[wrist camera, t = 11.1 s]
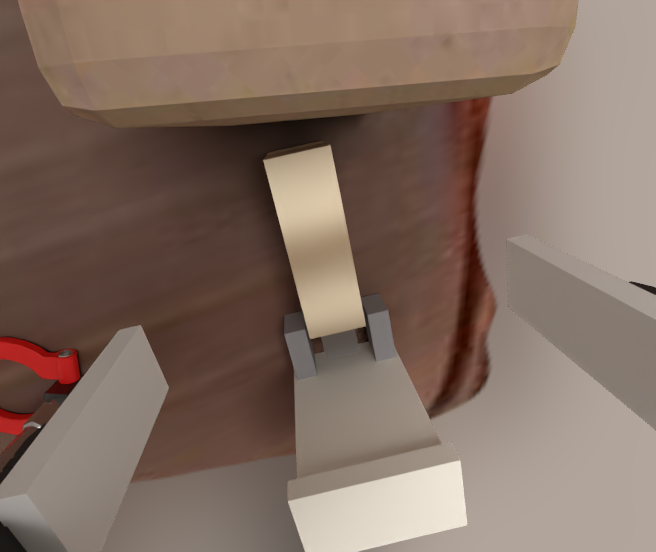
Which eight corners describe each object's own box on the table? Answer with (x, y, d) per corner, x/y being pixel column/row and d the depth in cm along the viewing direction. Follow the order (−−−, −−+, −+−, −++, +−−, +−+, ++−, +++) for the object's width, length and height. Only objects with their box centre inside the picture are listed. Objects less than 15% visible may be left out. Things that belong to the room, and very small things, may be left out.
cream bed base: (276, 316, 30) (268, 446, 18) (387, 291, 31) (454, 402, 18) (301, 402, 34) (309, 563, 21) (401, 378, 34) (467, 525, 21)
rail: (268, 152, 26) (263, 160, 21) (321, 140, 26) (330, 144, 21) (314, 332, 31) (320, 378, 26) (358, 322, 31) (373, 365, 26)
